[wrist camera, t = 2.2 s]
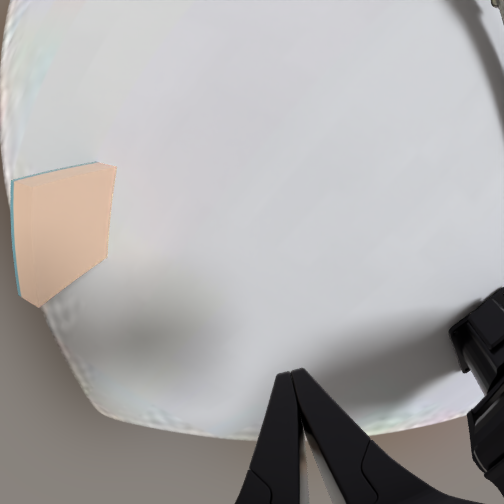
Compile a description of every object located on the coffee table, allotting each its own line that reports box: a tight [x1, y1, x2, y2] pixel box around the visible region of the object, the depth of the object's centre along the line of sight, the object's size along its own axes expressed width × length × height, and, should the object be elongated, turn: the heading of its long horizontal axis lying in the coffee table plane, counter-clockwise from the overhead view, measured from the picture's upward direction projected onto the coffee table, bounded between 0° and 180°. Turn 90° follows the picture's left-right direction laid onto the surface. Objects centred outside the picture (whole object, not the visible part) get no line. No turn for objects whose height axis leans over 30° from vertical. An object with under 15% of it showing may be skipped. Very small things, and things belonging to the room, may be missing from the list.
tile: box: [11, 162, 117, 308], centre depth 16 cm, size 2×7×8 cm, turn 164°
